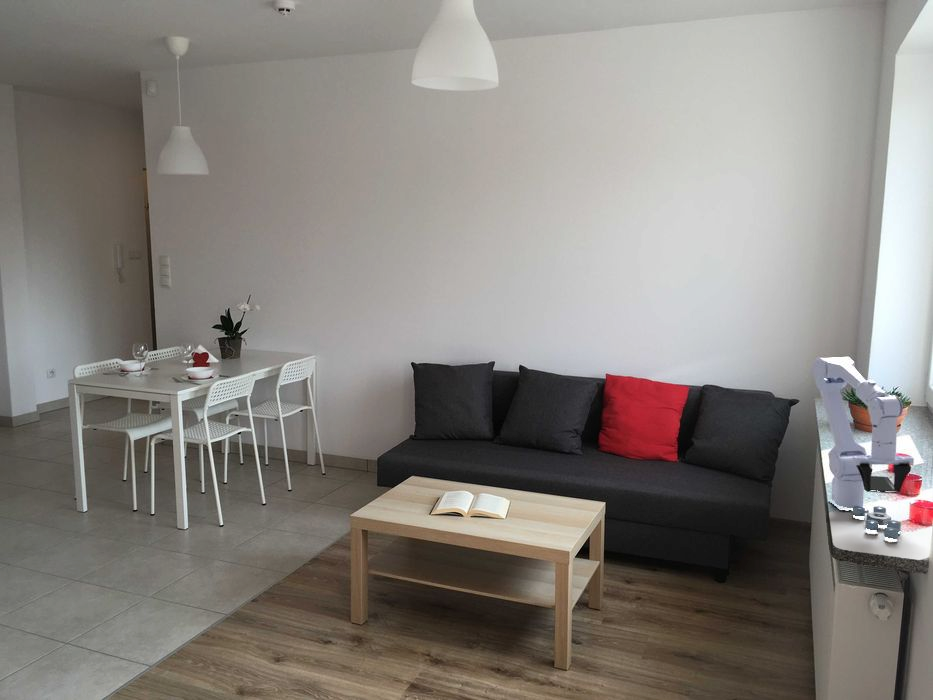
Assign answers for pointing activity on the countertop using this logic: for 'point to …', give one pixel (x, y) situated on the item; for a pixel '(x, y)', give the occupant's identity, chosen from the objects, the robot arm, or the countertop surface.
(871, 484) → the phone
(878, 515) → the hex nut
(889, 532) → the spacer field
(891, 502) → the countertop surface
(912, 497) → the countertop surface
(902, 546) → the countertop surface
